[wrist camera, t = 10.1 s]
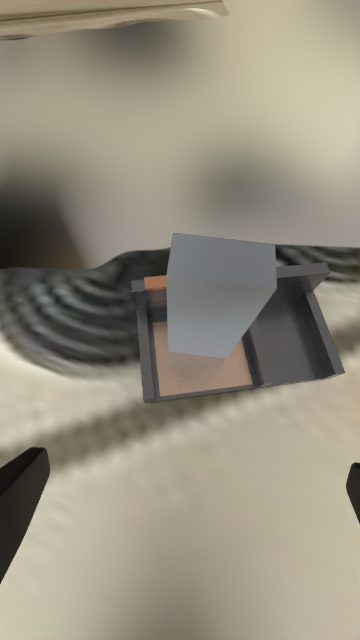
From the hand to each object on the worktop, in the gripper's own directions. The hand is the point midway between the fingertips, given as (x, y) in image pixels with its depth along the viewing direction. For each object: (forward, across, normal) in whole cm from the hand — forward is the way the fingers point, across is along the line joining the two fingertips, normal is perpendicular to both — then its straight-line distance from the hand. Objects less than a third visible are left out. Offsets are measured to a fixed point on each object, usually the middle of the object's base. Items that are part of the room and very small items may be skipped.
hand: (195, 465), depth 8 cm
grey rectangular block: (+15, 0, +2) cm, 15 cm away
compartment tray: (+16, -3, +3) cm, 16 cm away
